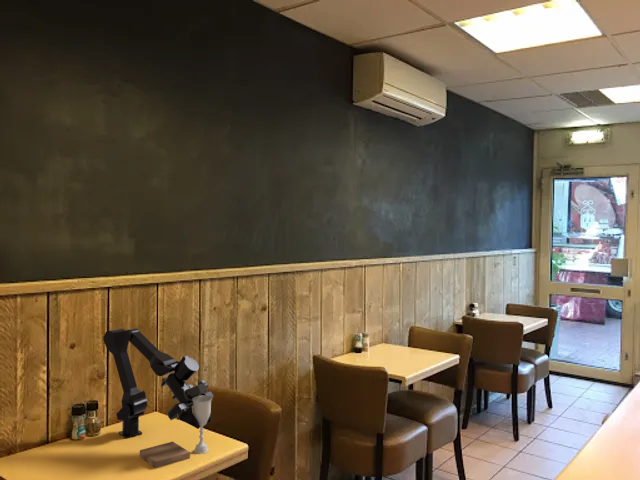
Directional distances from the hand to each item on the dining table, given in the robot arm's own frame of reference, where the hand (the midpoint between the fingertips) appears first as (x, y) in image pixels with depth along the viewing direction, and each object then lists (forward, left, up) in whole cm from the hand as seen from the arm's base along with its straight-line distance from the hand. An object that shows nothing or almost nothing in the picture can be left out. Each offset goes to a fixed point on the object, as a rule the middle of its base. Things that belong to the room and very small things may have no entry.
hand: (204, 425), depth 187 cm
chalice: (-1, -1, -9) cm, 9 cm away
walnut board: (-4, -13, -9) cm, 16 cm away
